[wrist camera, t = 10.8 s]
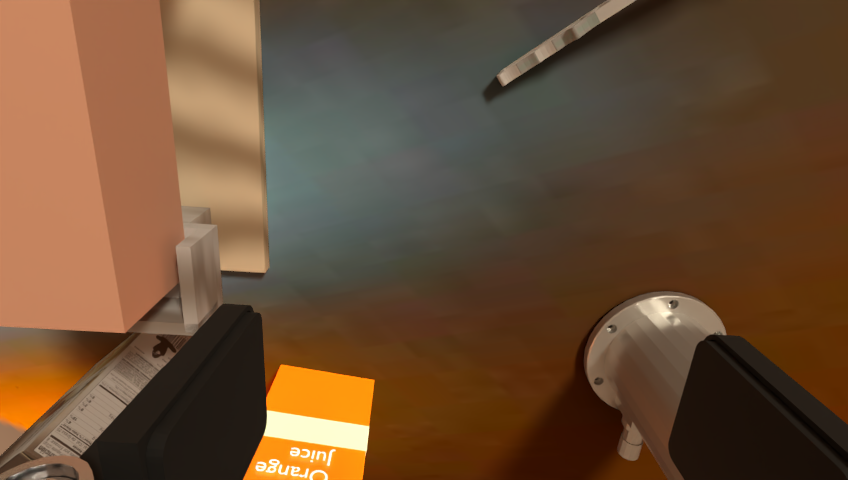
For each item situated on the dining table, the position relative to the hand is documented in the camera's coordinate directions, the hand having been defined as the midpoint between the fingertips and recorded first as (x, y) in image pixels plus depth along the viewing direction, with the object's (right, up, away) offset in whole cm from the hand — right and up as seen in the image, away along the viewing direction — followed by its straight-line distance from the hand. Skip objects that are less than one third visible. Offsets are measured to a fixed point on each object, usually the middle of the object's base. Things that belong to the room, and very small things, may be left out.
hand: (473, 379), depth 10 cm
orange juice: (-11, -13, +35) cm, 39 cm away
